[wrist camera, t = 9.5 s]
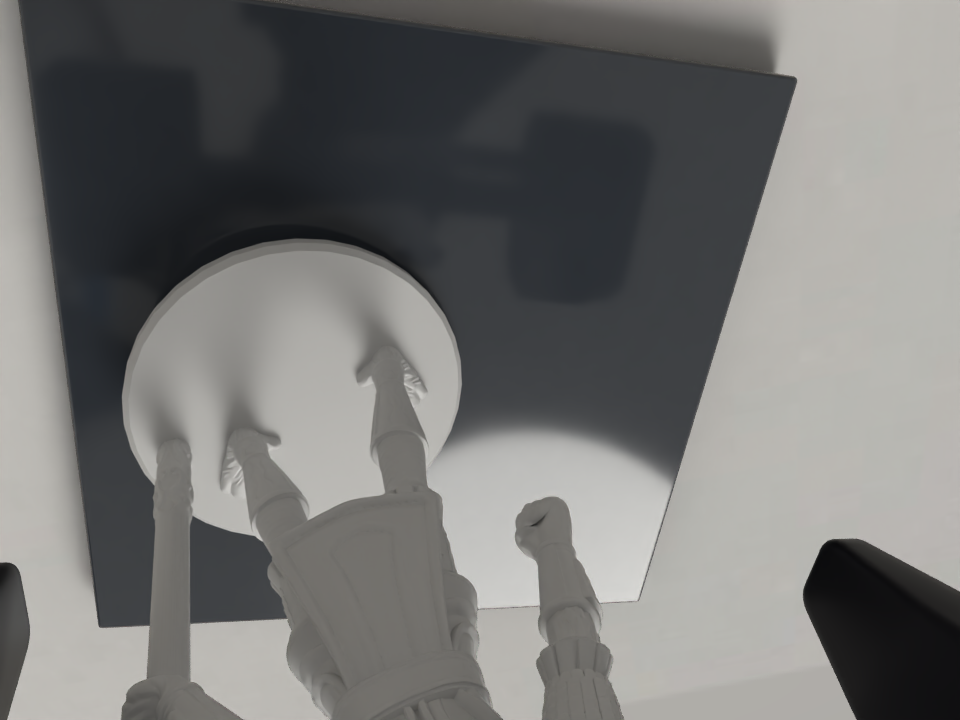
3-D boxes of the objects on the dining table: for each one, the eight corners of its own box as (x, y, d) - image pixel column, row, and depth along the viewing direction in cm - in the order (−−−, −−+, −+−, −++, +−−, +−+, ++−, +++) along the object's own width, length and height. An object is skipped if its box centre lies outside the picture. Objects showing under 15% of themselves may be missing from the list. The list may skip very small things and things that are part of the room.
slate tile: (629, 583, 16) (639, 602, 16) (105, 606, 14) (97, 629, 13) (779, 73, 12) (801, 77, 11) (28, -35, 9) (11, -37, 9)
